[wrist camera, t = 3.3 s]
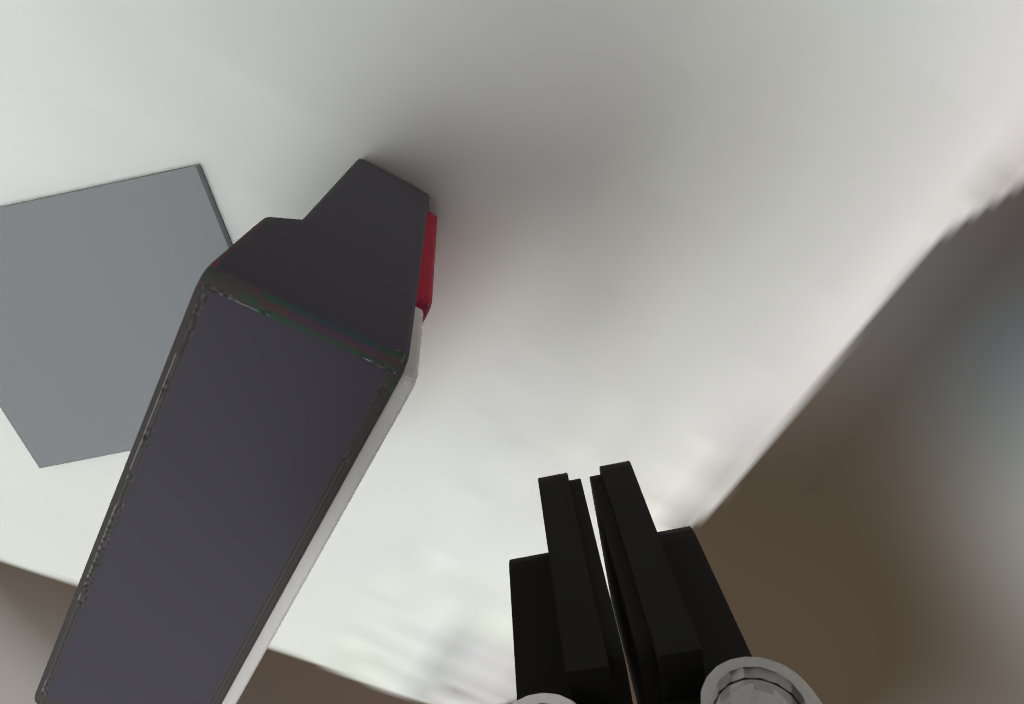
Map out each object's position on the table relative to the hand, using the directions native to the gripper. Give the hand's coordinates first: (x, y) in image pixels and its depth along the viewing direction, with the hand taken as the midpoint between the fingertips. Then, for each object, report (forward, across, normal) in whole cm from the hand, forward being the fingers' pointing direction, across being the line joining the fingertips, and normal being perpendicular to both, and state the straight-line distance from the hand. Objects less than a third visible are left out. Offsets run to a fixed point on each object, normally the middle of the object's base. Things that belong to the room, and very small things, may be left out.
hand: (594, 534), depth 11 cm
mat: (+16, +17, -1) cm, 23 cm away
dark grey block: (+16, +8, -1) cm, 18 cm away
